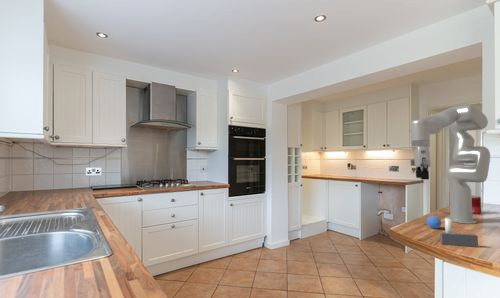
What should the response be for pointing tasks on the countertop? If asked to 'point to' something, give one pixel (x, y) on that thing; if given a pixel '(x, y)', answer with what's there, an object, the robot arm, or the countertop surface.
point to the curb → (459, 239)
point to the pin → (448, 225)
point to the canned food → (476, 204)
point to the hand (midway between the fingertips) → (422, 178)
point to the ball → (434, 222)
